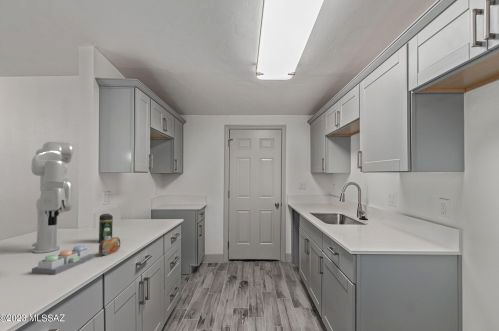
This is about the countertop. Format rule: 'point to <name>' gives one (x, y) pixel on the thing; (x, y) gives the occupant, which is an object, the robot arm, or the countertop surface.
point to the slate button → (78, 248)
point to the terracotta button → (66, 253)
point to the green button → (51, 258)
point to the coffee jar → (105, 227)
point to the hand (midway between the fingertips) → (52, 225)
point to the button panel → (63, 263)
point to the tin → (109, 246)
